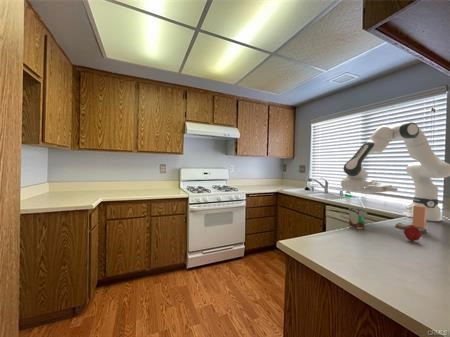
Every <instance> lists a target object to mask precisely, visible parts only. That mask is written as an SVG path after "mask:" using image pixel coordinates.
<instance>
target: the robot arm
mask: <svg viewBox="0 0 450 337" xmlns="http://www.w3.org/2000/svg"><path fill="white" fill-rule="evenodd" d="M396 141H403V142H404V145H405V148H406V150H407V152H408V154H409V157H410V158H412V159H413V160H415V161H416V162H411V163H408V165H407V166H406V169H405V171H406V173H407V175H409V176H410V177H411V179H412V181H413V183H414V197H413V199H412V202H411V203H410V204H408V206H406V208H405V210H406V211H403V212H402V214H403V215H404V216H405V217H408V218H411V219H413V210H414V206H415V205H419V206H426V207H427V217H426V221H429V222H440V221H441V222H442V221H444V219H443V218H441V214H442V213H441V207H440V206H439V202H440V201H439V196H438V195H439V188H438V186H437V185H435V184H434V183H433V181H432V179H444V178H448V177H450V163H448V162H445V161H443V160H442V159H441V158H439V156H437V155H436V153H434V151H433V150H432V148H431V146H430V143H429V141H428V139H427V137H426V135H425V133H424V131H423V130H422V129H421V128H420V127H419V126H418V125H417V123H415V122H413V121H406V122H401V123H396V124H393V125H390V126H388V125H380V126H378V128H376V130H375V131H374V132H373V133H372V134H371V136H370V137H369V139H368V140H367V141H366V142H364V143H363V144H362V146H360V147H359V149H358V150H357V151H356V153H355V154H354V155H353V156H352V157H351V158H350V159H349V160H348V161H347V162H345V164H344V165H343V171H344V173H345V174H346V175H347V176H346V177H344V178H343V179H342V180H341V182H340V186H341V188H342V189H343V190H344V191H346V192H350V193H361V194H364V195H365V194H367V195H373V194H375V193H384V192H385V193H387V192H397V191H398V187H393V185H391V184H388V183H382V182H378V181H375V180H373V179H368V172H367V170H366V169H365V168H364V167H363V162H364V161H365V159H366V158H367V157H368V156H369V154H380V153H383V151H384V150H386V149H387V147H388V146H389V144H390V142H396Z"/></svg>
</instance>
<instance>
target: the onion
mask: <svg viewBox="0 0 450 337" xmlns="http://www.w3.org/2000/svg"><path fill="white" fill-rule="evenodd" d="M410 225H411V226H408V227H407V228H405V229H403V234H404V235H405V237H406V238H407V239H408V240H409V241H411V242H415V241H418V240H420V239H421V237H422V233H421V232H420V230H419V229H418V228H417V227H415V226H414V224H413V223H411V224H410Z"/></svg>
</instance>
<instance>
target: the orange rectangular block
mask: <svg viewBox="0 0 450 337" xmlns="http://www.w3.org/2000/svg"><path fill="white" fill-rule="evenodd" d="M426 217H427V207H426V206H419V205H415V206H414V210H413V218H412V224H414V226H415V227H417V228H420V229H422V228H427V220H426Z"/></svg>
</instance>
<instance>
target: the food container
mask: <svg viewBox="0 0 450 337" xmlns="http://www.w3.org/2000/svg"><path fill="white" fill-rule="evenodd" d="M367 216H368V212H367V210H365V209H363V208H356V207H350V206H349V208H348V225H349V226H350V227H351V228H353V227H354V228H353V229H354V230H356V231H358V230H361V231H365V230H364V229H365V224H366V217H367Z"/></svg>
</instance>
